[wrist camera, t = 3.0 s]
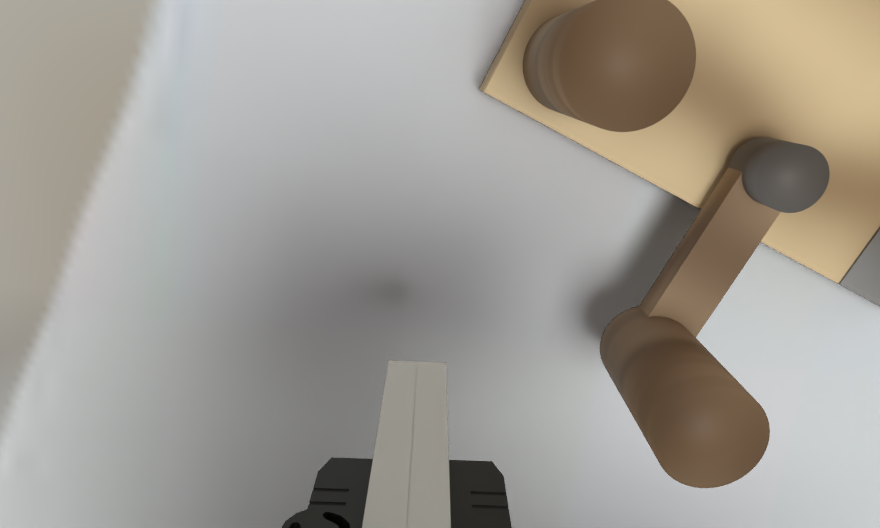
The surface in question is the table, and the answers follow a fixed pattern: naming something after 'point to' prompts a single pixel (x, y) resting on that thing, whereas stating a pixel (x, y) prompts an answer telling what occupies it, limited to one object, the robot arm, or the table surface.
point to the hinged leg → (688, 308)
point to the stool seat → (716, 102)
